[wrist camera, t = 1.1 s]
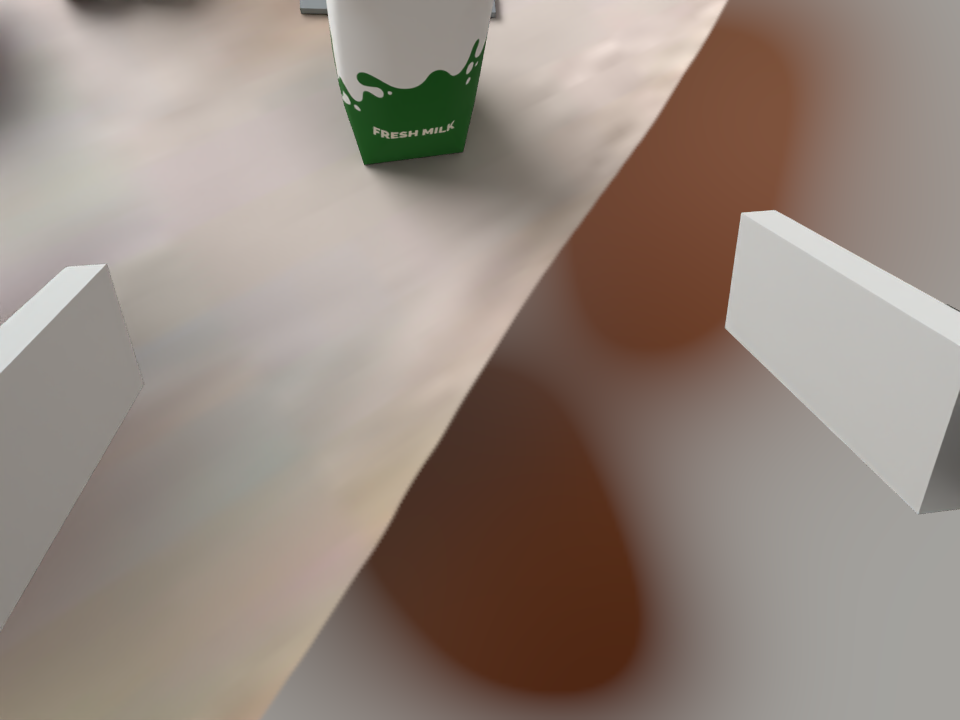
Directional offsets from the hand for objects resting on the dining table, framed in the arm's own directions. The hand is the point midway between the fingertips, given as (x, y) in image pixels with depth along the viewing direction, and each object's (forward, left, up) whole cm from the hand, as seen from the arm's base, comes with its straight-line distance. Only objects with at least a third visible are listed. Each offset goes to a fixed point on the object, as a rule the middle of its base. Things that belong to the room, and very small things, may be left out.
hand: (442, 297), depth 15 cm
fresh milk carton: (-3, +24, -30) cm, 38 cm away
